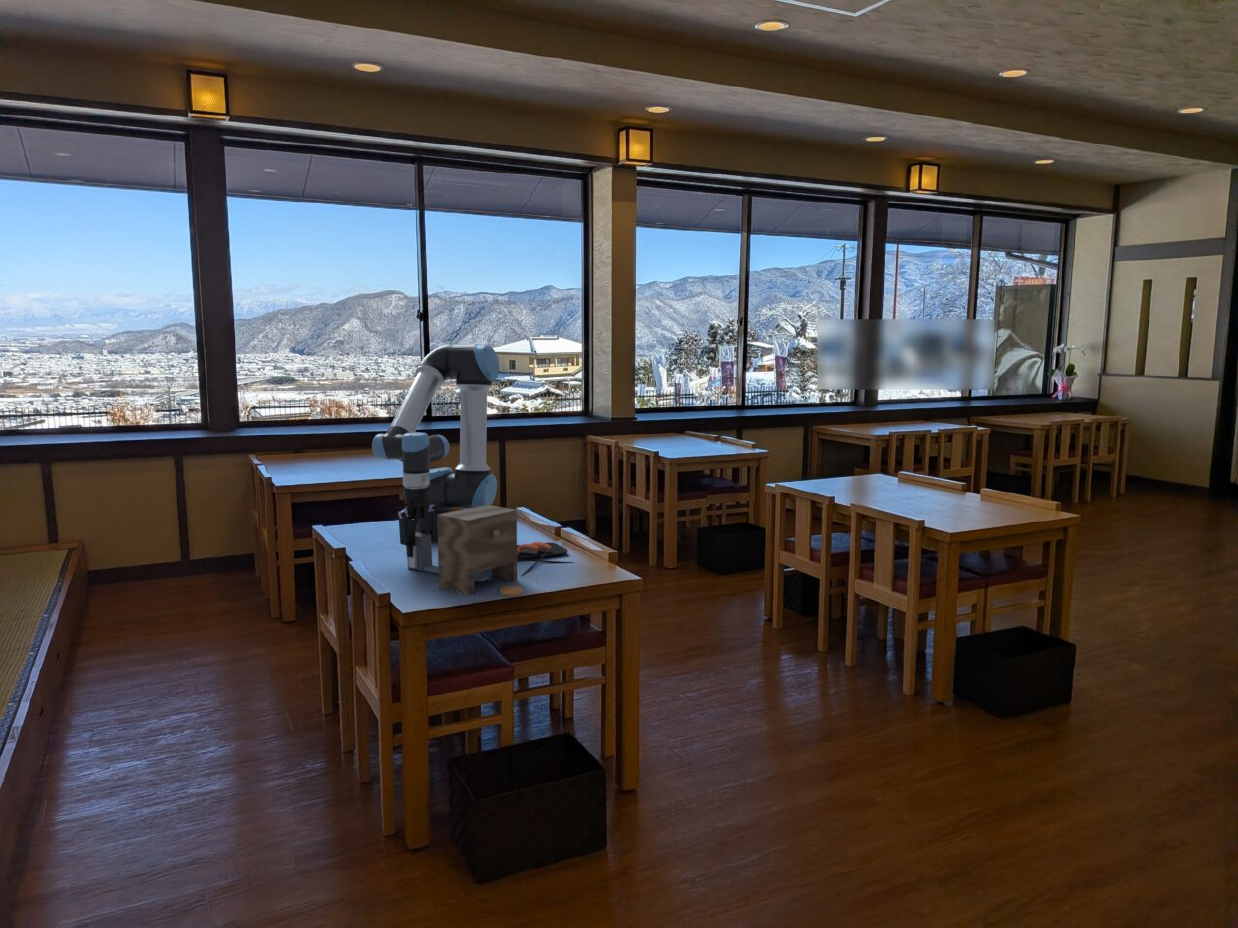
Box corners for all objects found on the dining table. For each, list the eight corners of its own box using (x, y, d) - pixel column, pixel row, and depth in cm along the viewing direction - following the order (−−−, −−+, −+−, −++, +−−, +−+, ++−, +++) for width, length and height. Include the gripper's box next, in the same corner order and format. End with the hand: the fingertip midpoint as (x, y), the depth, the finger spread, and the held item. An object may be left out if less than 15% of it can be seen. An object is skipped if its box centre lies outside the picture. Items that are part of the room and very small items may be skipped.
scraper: (401, 570, 247) (399, 536, 246) (424, 563, 254) (423, 530, 253) (468, 583, 232) (467, 547, 230) (491, 575, 239) (490, 540, 238)
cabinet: (438, 587, 231) (437, 514, 228) (486, 572, 245) (485, 504, 242) (473, 596, 223) (472, 521, 220) (520, 580, 237) (520, 510, 234)
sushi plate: (554, 547, 278) (554, 535, 278) (590, 570, 251) (590, 557, 251) (466, 556, 266) (466, 544, 265) (495, 581, 239) (495, 567, 238)
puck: (495, 593, 227) (495, 589, 227) (512, 588, 231) (512, 584, 231) (510, 598, 223) (510, 593, 223) (527, 593, 227) (527, 588, 227)
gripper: (402, 492, 236) (404, 574, 240) (447, 483, 250) (449, 561, 254) (384, 489, 241) (387, 569, 244) (430, 481, 255) (432, 557, 258)
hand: (419, 565), depth 249 cm, fingers closed on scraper, 4 cm apart
